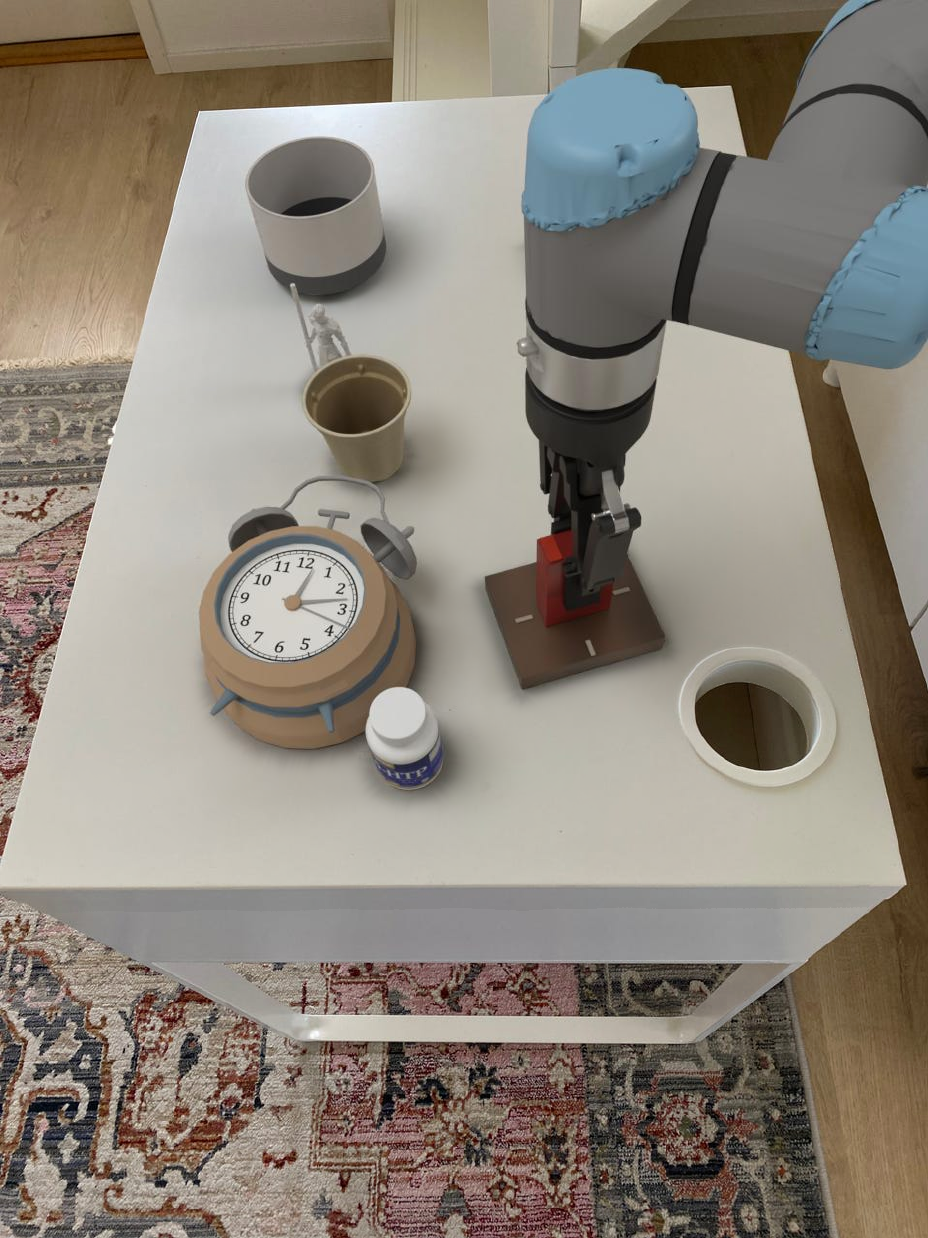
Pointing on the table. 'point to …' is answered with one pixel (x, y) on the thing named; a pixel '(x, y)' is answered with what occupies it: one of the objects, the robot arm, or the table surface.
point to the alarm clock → (307, 624)
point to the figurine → (321, 333)
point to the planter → (317, 214)
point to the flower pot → (360, 413)
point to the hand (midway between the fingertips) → (574, 586)
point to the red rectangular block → (560, 581)
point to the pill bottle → (404, 739)
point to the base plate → (570, 627)
